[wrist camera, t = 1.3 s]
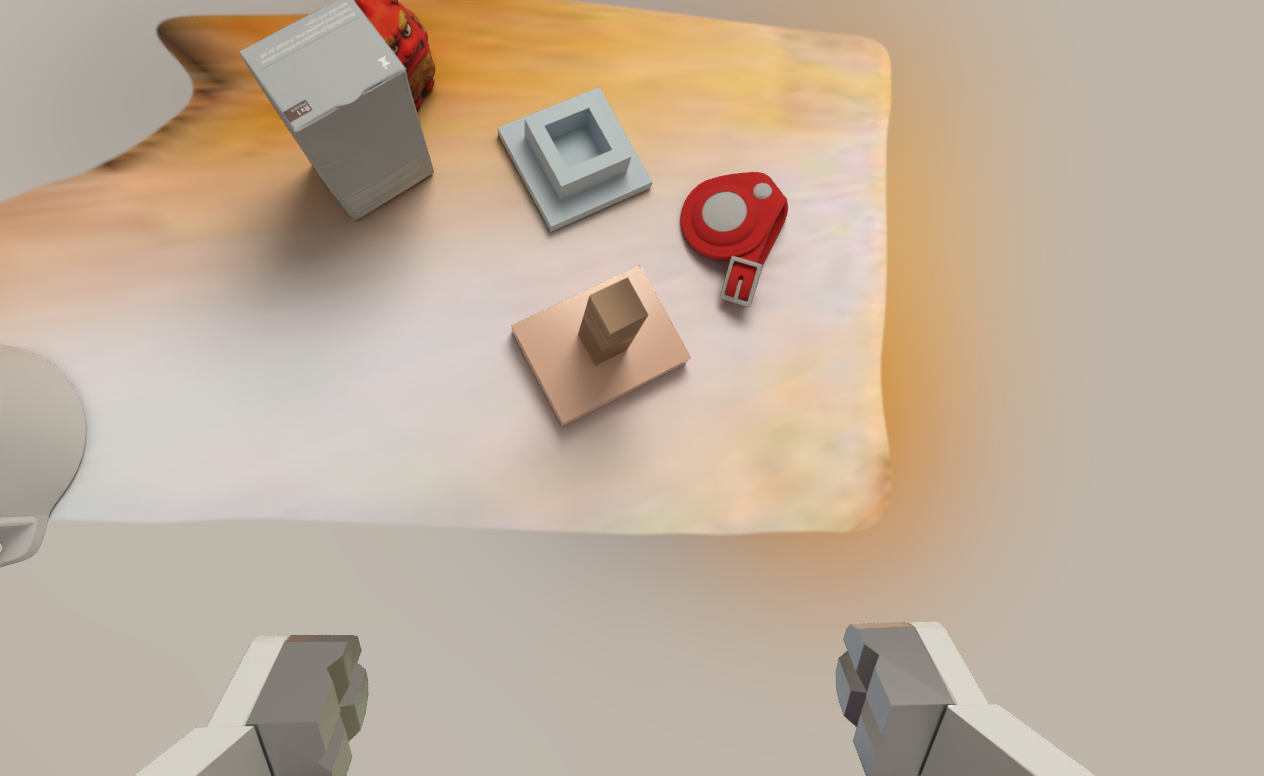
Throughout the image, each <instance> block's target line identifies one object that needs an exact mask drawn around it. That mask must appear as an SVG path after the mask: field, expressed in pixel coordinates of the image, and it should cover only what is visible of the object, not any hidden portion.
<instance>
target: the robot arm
mask: <svg viewBox="0 0 1264 776" xmlns="http://www.w3.org/2000/svg"><path fill="white" fill-rule="evenodd" d="M85 439H86V423H85V416H84V411H83V407H82V404H81V401H80V399H79V397H78V395H77V393H76V391H75V389H74V388H73V386H72V384H71V383H70V382H69V380H68V379H67V378H66V377H65V376H64V375H63V374H62V373H61V372H60V371H59V370H58V369H57V368H56V367H55V366H53V365H52V364H51V363H49V362H48V361H46V360H44V359H43V358H41V357H39V356H37V355H35V354H32V353H30V352H27V351H24V350H21V349H17V348H13V347H8V346H0V543H1V544H2V546H3V549H2V551H1V553H0V567H3V566H6V565H10V564H13V563H17V562H20V561H23V560H26V559H28V558H30V557H32V556H33V555H34V554H35V553H36V552H37V551H38V549H39V547H40V545H41V543H42V541H43V538H44V534H45V531H46V527H47V522H48V518H49V514H50V512H51V510H52V508H53V507H54V505H55V504H56V502H57V501H58V499H59V498H60V497H61V495H62V494H63V493H64V491H65V490H66V488H67V487H68V485H69V484H70V482H71V481H72V479H73V477H74V475H75V473H76V471H77V469H78V467H79V464H80V461H81V458H82V455H83V451H84V446H85ZM843 640H844V643H845V645H846V648H847V650H848V651H846V652H845V653H844V654H843V655H842V656H841V657H839V659H838V664H837V668H836V690H837V695H838V699H839V703H840V706H841V709H842V712H843V715H844V716H845V717H846V718H847V719H848V720H849V721H850V722H851V723H852V724H854V725H855V726H856V727H857V728H856V732H855V736H854V739H853V742H854V745H855V748H856V750H857V753H858V756H859V758H860V761H861V764H862V767H863V769H864V772H865V775H866V776H1095V775H1093V774H1092V773H1090V772H1089V771H1088V770H1086V769H1085V768H1084V767H1082V766H1081V765H1080V764H1078V763H1077V762H1076V761H1074V760H1073V759H1071V758H1070V757H1069V756H1067V755H1066V754H1065V753H1063V752H1062V751H1061V750H1059V749H1058V748H1056V747H1055V746H1054V745H1052V744H1051V743H1050V742H1048V741H1047V740H1046V739H1044V738H1043V737H1042V736H1040V735H1039V734H1037V733H1036V732H1035V731H1033V730H1032V729H1030V728H1029V727H1028V726H1027V725H1025V724H1024V723H1023V722H1021V721H1020V720H1018V719H1017V718H1016V717H1014V716H1013V715H1012V714H1010V713H1009V712H1008V711H1006V710H1005V709H1003V708H1002V707H1001V706H999V705H998V704H989V703H988V702H987V700H986V698H985V697H984V695H983V693H982V691H981V690H980V688H979V686H978V685H977V683H976V681H975V680H974V678H973V676H972V675H971V673H970V671H969V669H968V668H967V666H966V664H965V663H964V661H963V659H962V657H961V656H960V654H959V652H958V651H957V649H956V647H955V645H954V644H953V642H952V640H951V639H950V637H949V635H948V634H947V632H946V630H945V628H944V627H943V626H942V625H941V624H940V623H938V622H909V623H905V622H897V623H867V624H850V625H849V626H848V628H847V629H846V632H845V635H844V639H843ZM360 653H361V647H360V643H359V640H358V637H357V636H354V635H276V636H275V635H270V636H269V635H260V636H258V637H257V638H256V639H255V640H254V641H253V642H252V643H251V644H250V645H249V647H248V649H247V651H246V653H245V655H244V657H243V659H242V660H241V662H240V664H239V666H238V668H237V670H236V672H235V673H234V676H233V677H232V679H231V681H230V683H229V685H228V687H227V689H226V690H225V692H224V694H223V696H222V698H221V700H220V702H219V704H218V706H217V707H216V710H215V711H214V713H213V715H212V717H211V719H210V720H209V722H208V724H207V726H206V727H199V728H195V729H194V730H192V731H191V732H190V733H188V734H187V735H186V736H185V737H183V738H182V739H181V740H179V741H178V742H177V743H176V744H174V745H173V746H172V747H171V748H169V749H168V750H167V751H165V752H164V753H163V754H162V755H160V756H159V757H158V758H157V759H155V760H154V761H153V762H152V763H150V764H149V765H147V766H146V767H145V768H144V769H142V770H141V771H140V772H138V773H137V774H136V775H135V776H346V775H347V771H348V769H349V766H350V762H351V759H352V754H351V750H350V746H349V741H350V740H351V739H352V738H353V737H354V736H355V735H356V734H357V733H358V732H359V731H360V730H361V727H362V723H363V720H364V717H365V714H366V706H367V700H368V678H367V674H366V670H365V669H364V668H363V667H362V666H361V665H359V664H358V663H357V662H358V659H359V656H360Z"/></svg>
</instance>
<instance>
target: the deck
mask: <svg viewBox="0 0 1264 776" xmlns="http://www.w3.org/2000/svg"><path fill="white" fill-rule="evenodd" d="M627 277H628V278H629V280H630V282H631V284H632V286H633V287H634V289H635V291H636V293H637V295H638V297H639V298H640V300H641V302H642V304H643V306H644V307H645V309H646V311H647V313H648V317H647V318H646V320H645V322H644V323H643V325H642V327H641V328H640V330H639V332H638V333H637V335H636V336H635V338H634V340H633V341H632V343H631V345H630V346H629V348H628V349H627V350H626V351H624V352H622V353H620V354H618V355H616V356H614V357H612V358H610V359H608V360H606V361H604V362H602V363H600V364H598V365H596V366H595V364H594V363H593V361H592V359H591V357H590V355H589V353H588V351H587V350H586V348H585V346H584V344H583V342H582V340H581V338H580V336H579V335H578V332H579V329H580V326H581V322H582V319H583V315H584V312H585V309H586V305H587V302H588V298H589V295H591V294H593V293H595V292H598V291H600V290H602V289H604V288H606V287H608V286H610V285H612V284H615V283H617V282H619V281H621V280H623V279H625V278H627ZM511 326H512V333H513V335H514V337H515V339H516V341H517V343H518V345H519V346H520V348H521V350H522V352H523V354H524V356H525V358H526V360H527V362H528V364H529V365H530V367H531V369H532V371H533V373H534V375H535V377H536V379H537V381H538V383H539V384H540V386H541V388H542V390H543V392H544V394H545V396H546V398H547V400H548V402H549V403H550V405H551V407H552V409H553V411H554V413H555V415H556V417H557V419H558V421H559V422H560V424H561V426H564V425H566V424H568V423H570V422H572V421H574V420H576V419H578V418H580V417H582V416H584V415H586V414H588V413H590V412H592V411H594V410H595V409H597V408H599V407H601V406H603V405H605V404H607V403H609V402H611V401H613V400H615V399H617V398H619V397H621V396H623V395H625V394H627V393H629V392H630V391H632V390H634V389H636V388H638V387H640V386H642V385H644V384H646V383H648V382H650V381H652V380H654V379H656V378H658V377H660V376H662V375H664V374H665V373H667V372H669V371H671V370H673V369H675V368H677V367H679V366H681V365H683V364H685V363H686V362H687V361H688V360H689V359H690V358H691V357H690V355H689V353H688V351H687V349H686V348H685V346H684V344H683V342H682V340H681V338H680V337H679V335H678V333H677V331H676V329H675V328H674V326H673V324H672V322H671V320H670V319H669V317H668V315H667V313H666V311H665V309H664V308H663V306H662V304H661V302H660V300H659V299H658V297H657V295H656V293H655V291H654V290H653V288H652V286H651V284H650V282H649V280H648V279H647V277H646V275H645V273H644V271H643V270H642V268H641V266H640V265H639V266H637V267H635V268H633V269H630V270H628V271H626V272H624V273H622V274H620V275H618V276H616V277H613V278H611V279H609V280H607V281H605V282H603V283H601V284H599V285H596V286H594V287H592V288H590V289H588V290H586V291H584V292H581V293H579V294H577V295H575V296H573V297H571V298H569V299H567V300H564V301H562V302H560V303H558V304H556V305H554V306H552V307H550V308H547V309H545V310H543V311H541V312H539V313H537V314H535V315H533V316H530V317H528V318H526V319H524V320H522V321H520V322H518V323H515V324H513V325H511Z"/></svg>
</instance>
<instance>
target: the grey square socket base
mask: <svg viewBox="0 0 1264 776" xmlns="http://www.w3.org/2000/svg"><path fill="white" fill-rule="evenodd" d="M498 136H499V137H500V139H501V141H502V143H503V145H504V147H505V149H506V150H507V152H508V154H509V156H510V158H511V160H512V162H513V163H514V165H515V167H516V169H517V171H518V173H519V174H520V176H521V178H522V180H523V182H524V184H525V186H526V187H527V189H528V191H529V193H530V195H531V197H532V199H533V200H534V202H535V204H536V206H537V208H538V210H539V211H540V213H541V215H542V217H543V219H544V221H545V223H546V224H547V226H548V228H549V230H550V232H552V231H555V230H557V229H559V228H561V227H564V226H566V225H568V224H570V223H573V222H575V221H577V220H579V219H582V218H584V217H586V216H589V215H591V214H593V213H595V212H598V211H600V210H602V209H604V208H607V207H609V206H611V205H613V204H616V203H618V202H620V201H622V200H625V199H627V198H629V197H631V196H634V195H636V194H638V193H640V192H643V191H645V190H647V189H650V187H651V185H652V180H651V178H650V176H649V175H648V173H647V171H646V169H645V167H644V166H643V164H642V162H641V160H640V159H639V157H638V155H637V153H636V151H635V150H634V148H633V146H632V144H631V142H630V141H629V139H628V137H627V135H626V134H625V132H624V130H623V128H622V126H621V125H620V123H619V121H618V119H617V118H616V116H615V114H614V112H613V110H612V109H611V107H610V105H609V103H608V101H607V100H606V98H605V96H604V94H603V93H602V91H601V89H600V87H598V88H596V89H593V90H591V91H588V92H586V93H583V94H581V95H578V96H576V97H573V98H571V99H568V100H566V101H563V102H561V103H558V104H556V105H553V106H551V107H548V108H546V109H543V110H541V111H538V112H536V113H533V114H531V115H528V116H525V117H523V118H520V119H518V120H515V121H513V122H510V123H508V124H505V125H503V126H500V127H498Z"/></svg>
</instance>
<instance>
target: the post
mask: <svg viewBox="0 0 1264 776" xmlns="http://www.w3.org/2000/svg"><path fill="white" fill-rule="evenodd" d="M647 317H648V313H647V311H646V309H645V307H644V306H643V304H642V302H641V300H640V298H639V297H638V295H637V293H636V291H635V289H634V287H633V286H632V284H631V282H630V280H629V278H628V277H627V278H625V279H623V280H621V281H619V282H617V283H615V284H612V285H610V286H608V287H606V288H604V289H602V290H600V291H598V292H595V293H593V294H591V295H589V298H588V302H587V305H586V309H585V312H584V315H583V319H582V322H581V326H580V329H579V332H578V335H579V336H580V338H581V340H582V342H583V344H584V346H585V348H586V350H587V351H588V353H589V355H590V357H591V359H592V361H593V363H594V364H595V366H596V365H598V364H600V363H602V362H604V361H606V360H608V359H610V358H612V357H614V356H616V355H618V354H620V353H622V352H624V351H626V350H627V349H628V348H629V346H630V345H631V343H632V341H633V340H634V338H635V336H636V335H637V333H638V332H639V330H640V328H641V327H642V325H643V323H644V322H645V320H646V318H647Z"/></svg>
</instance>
